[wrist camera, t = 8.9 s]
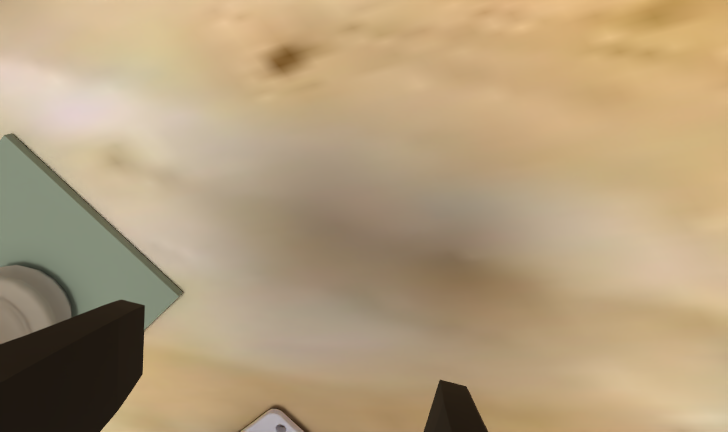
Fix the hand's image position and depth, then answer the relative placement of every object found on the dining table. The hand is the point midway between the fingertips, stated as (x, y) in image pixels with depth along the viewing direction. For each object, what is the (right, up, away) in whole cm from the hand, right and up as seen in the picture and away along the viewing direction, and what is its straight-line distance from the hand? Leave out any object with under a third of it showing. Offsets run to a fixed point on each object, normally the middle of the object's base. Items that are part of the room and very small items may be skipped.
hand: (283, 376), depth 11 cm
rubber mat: (-14, +1, +12) cm, 18 cm away
